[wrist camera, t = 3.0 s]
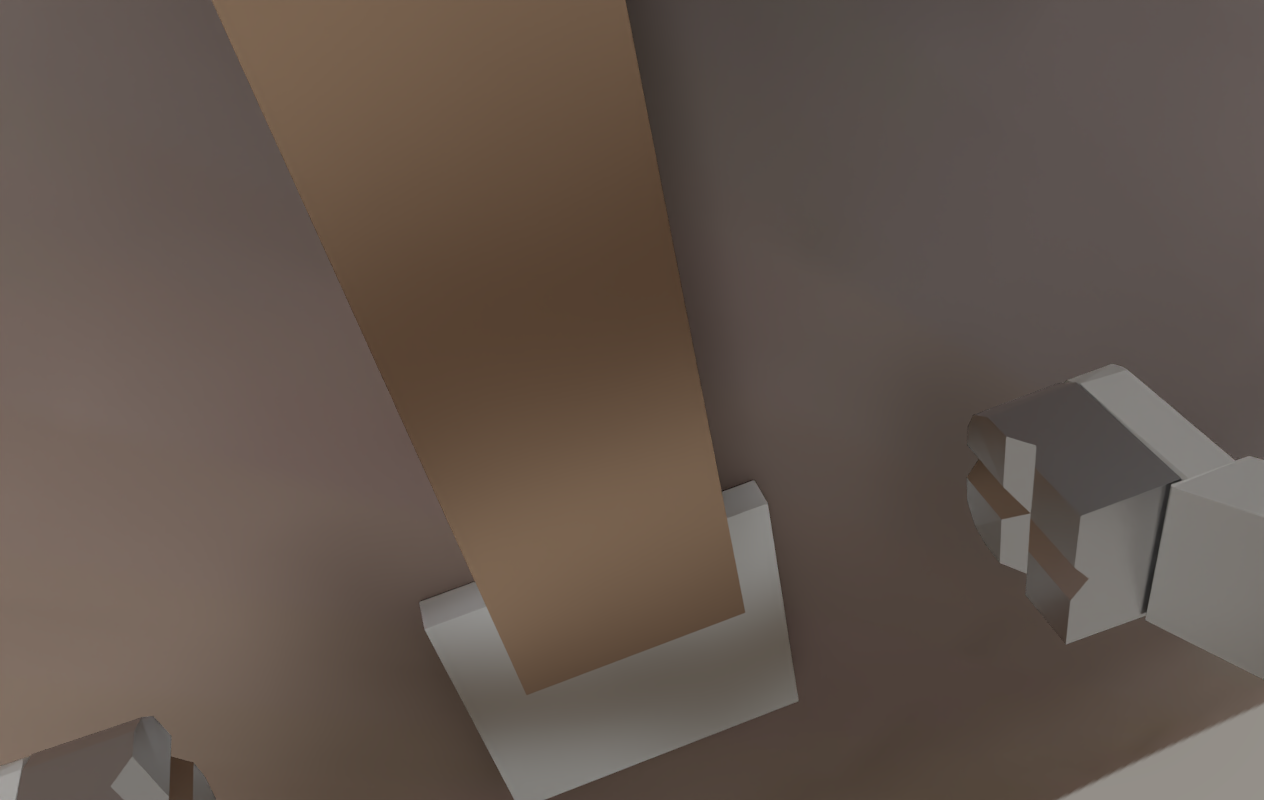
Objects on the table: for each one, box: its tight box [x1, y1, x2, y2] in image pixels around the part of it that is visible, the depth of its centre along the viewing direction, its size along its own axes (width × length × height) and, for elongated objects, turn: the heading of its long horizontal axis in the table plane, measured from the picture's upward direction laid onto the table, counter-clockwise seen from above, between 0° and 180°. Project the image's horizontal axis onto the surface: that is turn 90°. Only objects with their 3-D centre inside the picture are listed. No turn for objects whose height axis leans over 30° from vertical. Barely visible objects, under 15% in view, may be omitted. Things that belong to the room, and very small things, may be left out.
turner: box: [212, 0, 799, 800], centre depth 14 cm, size 19×6×4 cm, turn 12°
